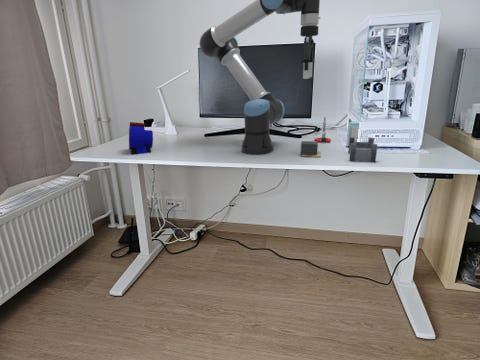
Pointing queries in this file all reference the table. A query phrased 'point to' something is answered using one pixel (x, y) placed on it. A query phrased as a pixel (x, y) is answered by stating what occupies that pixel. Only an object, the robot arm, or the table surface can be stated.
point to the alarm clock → (140, 138)
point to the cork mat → (313, 155)
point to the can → (352, 131)
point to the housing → (362, 150)
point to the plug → (309, 148)
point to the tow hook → (323, 135)
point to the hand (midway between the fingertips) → (307, 77)
